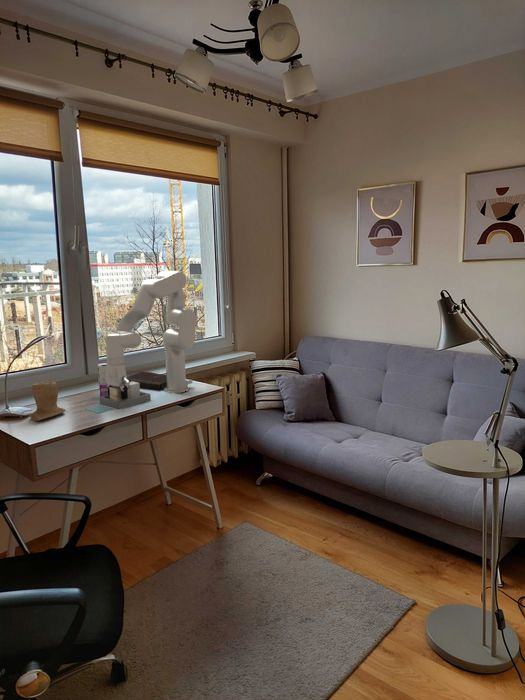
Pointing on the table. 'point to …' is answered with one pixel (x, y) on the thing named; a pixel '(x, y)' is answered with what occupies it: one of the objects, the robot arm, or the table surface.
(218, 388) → the table surface
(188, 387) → the robot arm
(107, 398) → the parts bin
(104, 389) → the candy bar box
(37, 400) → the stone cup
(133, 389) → the grey block
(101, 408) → the mat
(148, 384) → the diary
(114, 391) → the labelled block
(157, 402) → the table surface
